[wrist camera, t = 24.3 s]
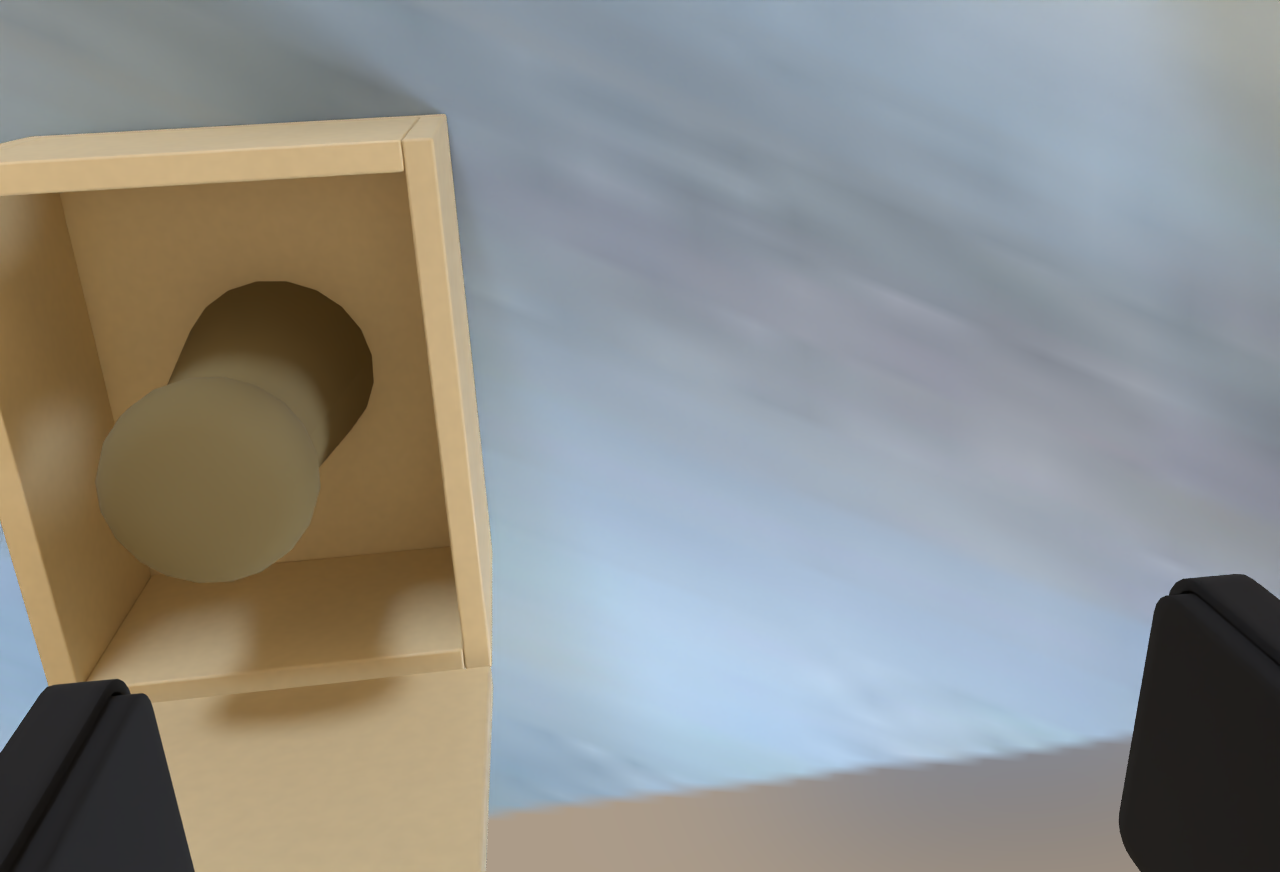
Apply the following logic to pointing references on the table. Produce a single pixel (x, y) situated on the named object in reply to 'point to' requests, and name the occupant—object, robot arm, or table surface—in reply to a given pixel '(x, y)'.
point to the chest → (147, 354)
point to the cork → (236, 434)
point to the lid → (336, 775)
